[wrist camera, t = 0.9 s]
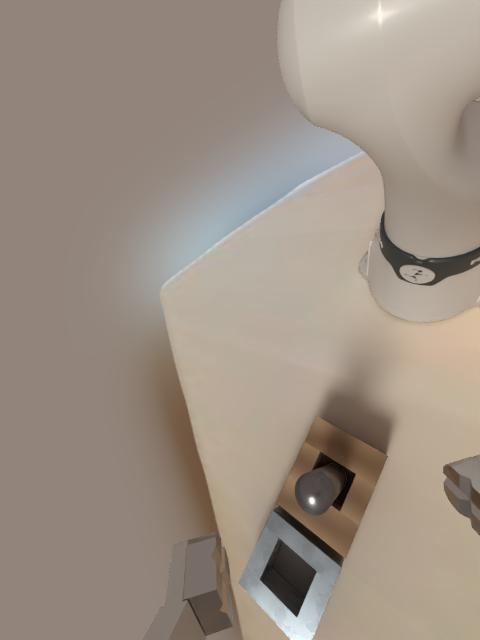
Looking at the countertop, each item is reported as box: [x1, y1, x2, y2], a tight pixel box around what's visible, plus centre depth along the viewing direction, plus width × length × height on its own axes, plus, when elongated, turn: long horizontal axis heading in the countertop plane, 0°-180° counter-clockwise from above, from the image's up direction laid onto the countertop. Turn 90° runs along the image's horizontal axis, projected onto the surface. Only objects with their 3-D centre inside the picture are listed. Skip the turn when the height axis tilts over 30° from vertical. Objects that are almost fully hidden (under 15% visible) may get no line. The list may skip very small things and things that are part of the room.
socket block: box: [239, 506, 344, 640], centre depth 34 cm, size 9×9×4 cm
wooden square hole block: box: [276, 417, 388, 559], centre depth 35 cm, size 12×9×4 cm
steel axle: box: [295, 464, 347, 515], centre depth 31 cm, size 3×3×16 cm
